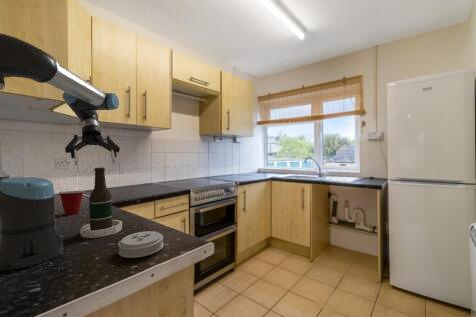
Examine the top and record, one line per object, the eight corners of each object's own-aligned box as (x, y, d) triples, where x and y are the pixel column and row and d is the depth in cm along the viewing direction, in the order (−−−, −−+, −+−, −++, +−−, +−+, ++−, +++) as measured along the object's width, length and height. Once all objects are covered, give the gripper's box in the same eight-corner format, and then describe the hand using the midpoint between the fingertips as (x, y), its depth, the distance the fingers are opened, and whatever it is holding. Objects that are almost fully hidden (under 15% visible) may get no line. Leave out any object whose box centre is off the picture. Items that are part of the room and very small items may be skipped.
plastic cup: (90, 211, 120) (89, 189, 120) (73, 216, 109) (72, 192, 109) (71, 210, 121) (71, 189, 121) (53, 216, 110) (52, 192, 110)
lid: (130, 265, 59) (129, 247, 59) (111, 253, 67) (111, 236, 67) (171, 249, 69) (171, 233, 69) (150, 240, 77) (150, 225, 77)
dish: (106, 238, 79) (106, 231, 79) (71, 237, 80) (71, 231, 80) (129, 226, 92) (128, 220, 92) (98, 225, 93) (98, 219, 93)
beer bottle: (116, 228, 87) (114, 167, 86) (93, 233, 81) (90, 168, 81) (109, 224, 92) (107, 166, 92) (87, 229, 86) (85, 168, 86)
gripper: (119, 137, 115) (126, 166, 104) (57, 135, 100) (58, 170, 88) (121, 126, 111) (129, 155, 100) (57, 122, 96) (58, 156, 84)
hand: (96, 162), depth 94 cm, fingers open, 13 cm apart
